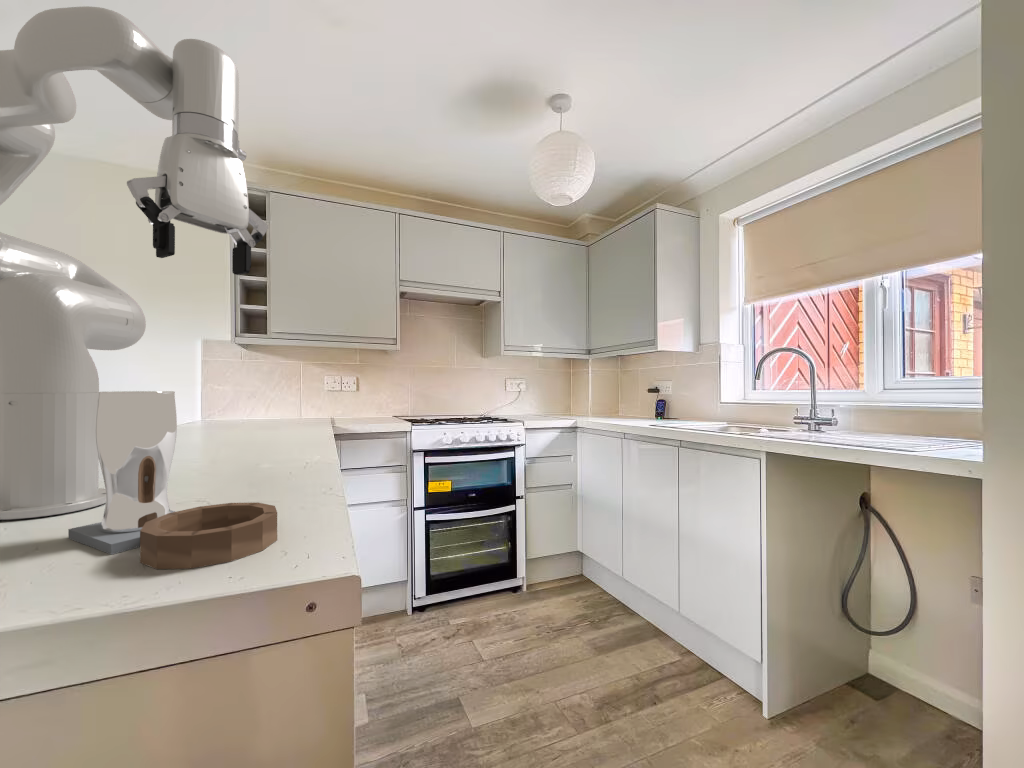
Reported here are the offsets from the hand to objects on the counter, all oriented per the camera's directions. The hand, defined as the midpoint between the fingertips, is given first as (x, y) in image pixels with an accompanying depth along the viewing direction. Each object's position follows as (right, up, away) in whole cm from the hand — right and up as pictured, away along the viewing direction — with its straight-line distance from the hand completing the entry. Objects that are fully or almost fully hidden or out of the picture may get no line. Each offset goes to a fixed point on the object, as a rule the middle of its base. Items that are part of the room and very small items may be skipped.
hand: (205, 265), depth 61 cm
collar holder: (+11, -33, -15) cm, 38 cm away
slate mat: (+1, -33, -11) cm, 35 cm away
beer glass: (0, -32, -11) cm, 34 cm away
